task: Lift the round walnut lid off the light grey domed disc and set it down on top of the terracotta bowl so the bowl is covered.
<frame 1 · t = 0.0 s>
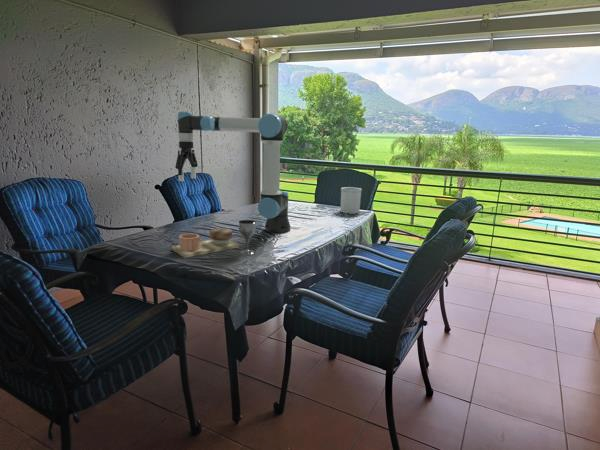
hand: (187, 179, 213), 28 cm above the table, tool pointing down, fingers open, 13 cm apart
utensil holder: (349, 212, 279), on the table
lid: (221, 236, 188), point 4 cm above the table, touching light grey domed disc
wine glass: (247, 252, 180), on the table
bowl: (189, 248, 178), resting on serving board
serving board: (205, 248, 184), on the table
light grey domed disc: (221, 242, 189), resting on serving board
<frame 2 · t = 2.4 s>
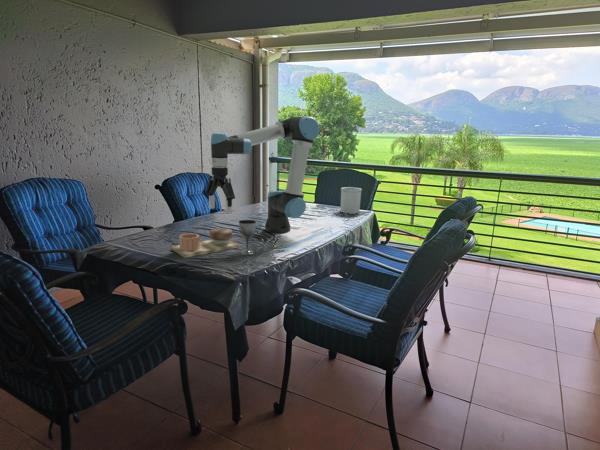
hand: (220, 210, 185), 18 cm above the table, tool pointing down, fingers open, 13 cm apart
nothing on the table moved.
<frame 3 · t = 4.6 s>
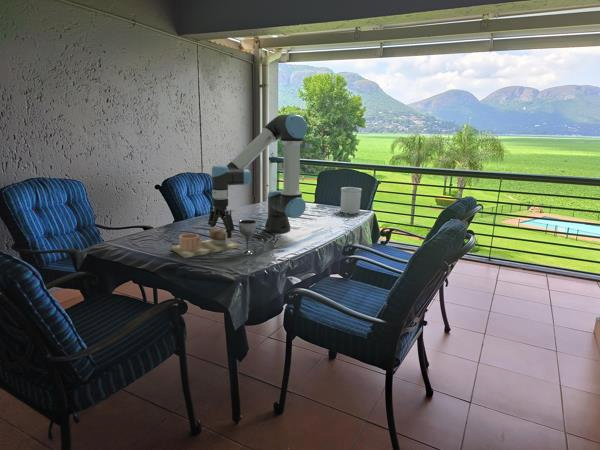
hand: (221, 241, 189), 2 cm above the table, tool pointing down, fingers closed on lid, 11 cm apart
lid: (221, 236, 188), point 4 cm above the table, touching gripper, light grey domed disc
everything else where it was.
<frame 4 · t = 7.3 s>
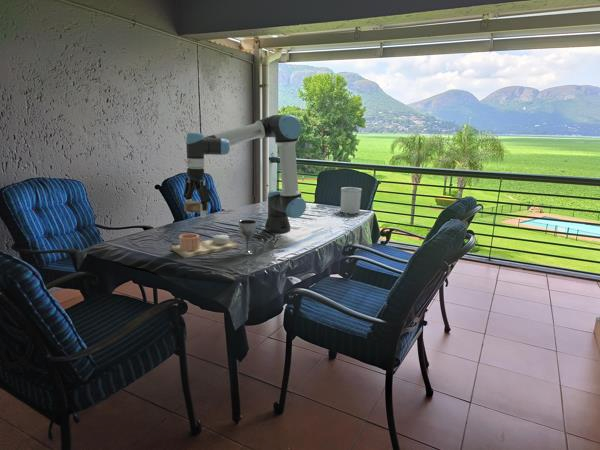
hand: (196, 215, 177), 17 cm above the table, tool pointing down, fingers closed on lid, 11 cm apart
lid: (196, 209, 177), point 19 cm above the table, touching gripper
everything else where it was.
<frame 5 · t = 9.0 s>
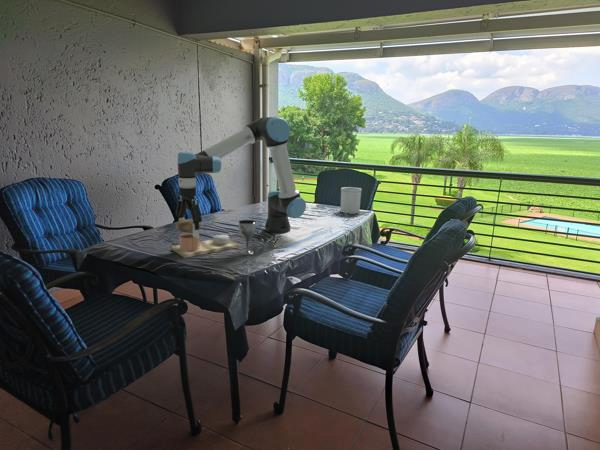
hand: (188, 233, 177), 9 cm above the table, tool pointing down, fingers closed on lid, 11 cm apart
lid: (188, 228, 176), point 11 cm above the table, touching gripper
everything else where it was.
when the fingers open (6 cm above the table, at t = 10.4 s): lid drops 1 cm, resting on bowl.
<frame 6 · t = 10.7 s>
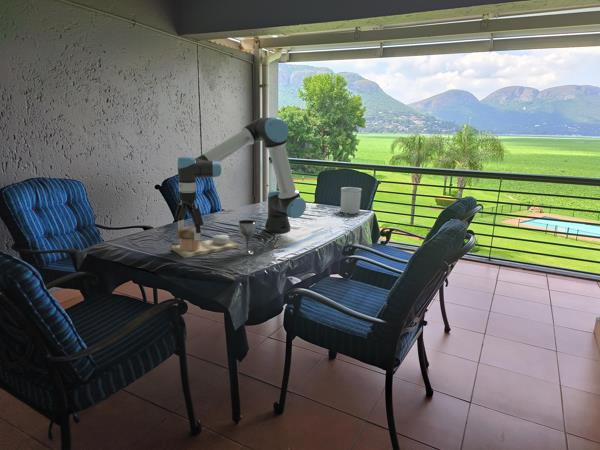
hand: (189, 236, 177), 7 cm above the table, tool pointing down, fingers open, 13 cm apart
lid: (189, 236, 177), point 7 cm above the table, touching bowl
everything else where it was.
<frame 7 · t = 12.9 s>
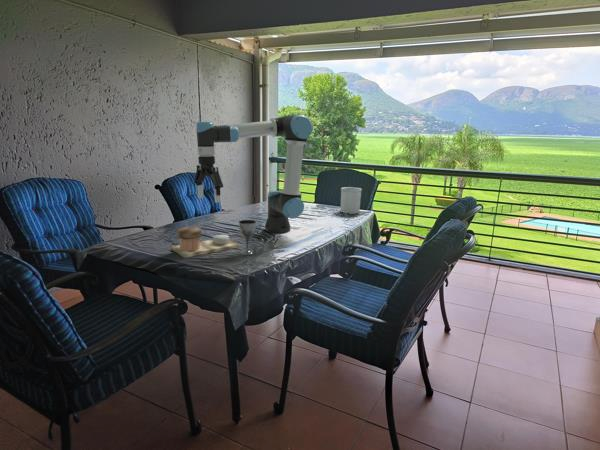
hand: (209, 200, 183), 23 cm above the table, tool pointing down, fingers open, 13 cm apart
nothing on the table moved.
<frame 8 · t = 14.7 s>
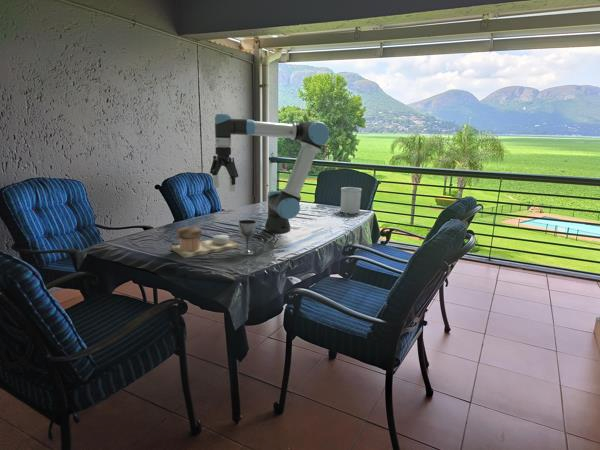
hand: (223, 189, 192), 27 cm above the table, tool pointing down, fingers open, 13 cm apart
nothing on the table moved.
at the end: lid 0.0 cm off-centre on the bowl, point 6.0 cm above the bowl's base; lid tilted 0°; the gripper is holding nothing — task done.
